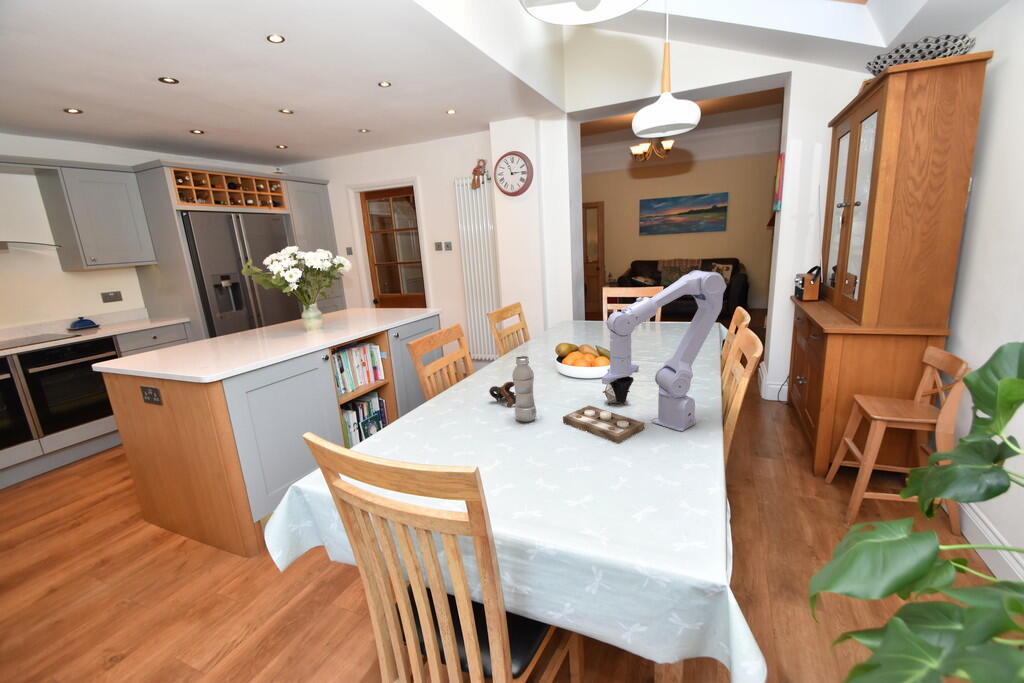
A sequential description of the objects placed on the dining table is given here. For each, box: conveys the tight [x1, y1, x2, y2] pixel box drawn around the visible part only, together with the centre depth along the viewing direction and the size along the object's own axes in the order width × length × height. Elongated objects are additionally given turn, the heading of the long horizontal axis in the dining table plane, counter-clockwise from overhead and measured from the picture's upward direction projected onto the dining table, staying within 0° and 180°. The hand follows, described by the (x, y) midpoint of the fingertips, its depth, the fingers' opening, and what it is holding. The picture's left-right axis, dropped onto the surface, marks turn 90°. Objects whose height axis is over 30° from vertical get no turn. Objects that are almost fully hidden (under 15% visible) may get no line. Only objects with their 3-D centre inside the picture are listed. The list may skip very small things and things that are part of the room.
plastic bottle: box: [511, 355, 538, 423], centre depth 133 cm, size 6×7×20 cm
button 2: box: [617, 421, 629, 428], centre depth 123 cm, size 3×3×2 cm
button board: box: [562, 404, 645, 444], centre depth 127 cm, size 20×12×2 cm, turn 40°
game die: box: [602, 384, 631, 406], centre depth 143 cm, size 9×8×10 cm
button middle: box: [600, 410, 612, 422], centre depth 128 cm, size 3×3×2 cm
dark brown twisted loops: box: [488, 381, 516, 408], centre depth 150 cm, size 12×10×8 cm
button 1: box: [584, 410, 595, 416], centre depth 132 cm, size 3×3×2 cm
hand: (621, 402), depth 124 cm, fingers closed
